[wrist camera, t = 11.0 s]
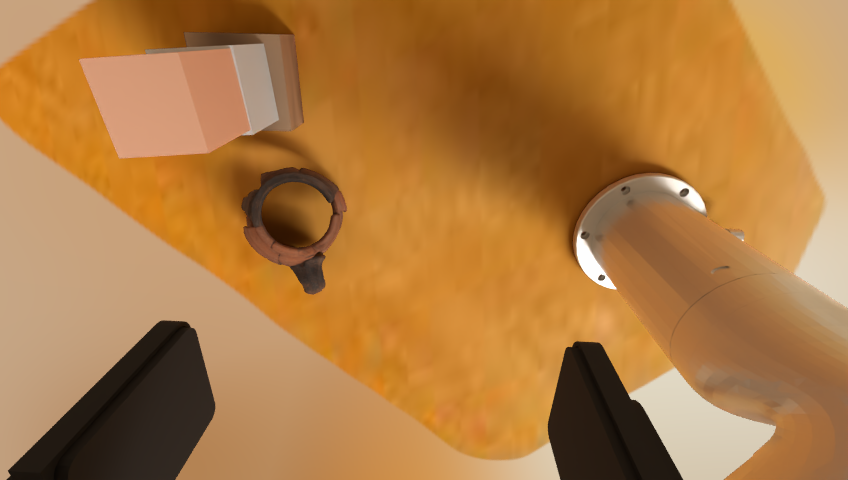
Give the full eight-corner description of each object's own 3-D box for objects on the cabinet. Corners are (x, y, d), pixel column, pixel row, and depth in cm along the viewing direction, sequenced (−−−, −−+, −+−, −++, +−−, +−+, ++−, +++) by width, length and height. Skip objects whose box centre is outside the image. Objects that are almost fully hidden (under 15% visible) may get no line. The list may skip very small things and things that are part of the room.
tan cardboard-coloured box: (295, 34, 33) (279, 34, 30) (304, 121, 37) (291, 131, 33) (209, 32, 33) (183, 32, 30) (226, 120, 36) (204, 129, 33)
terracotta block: (230, 48, 25) (178, 52, 20) (250, 129, 28) (208, 153, 22) (151, 53, 25) (78, 59, 20) (178, 134, 28) (119, 158, 22)
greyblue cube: (263, 43, 30) (232, 45, 25) (279, 119, 33) (253, 134, 28) (190, 47, 30) (144, 49, 25) (211, 122, 33) (173, 138, 28)
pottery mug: (229, 192, 40) (216, 185, 32) (320, 159, 43) (328, 145, 35) (281, 301, 42) (281, 319, 34) (364, 263, 45) (382, 272, 37)
